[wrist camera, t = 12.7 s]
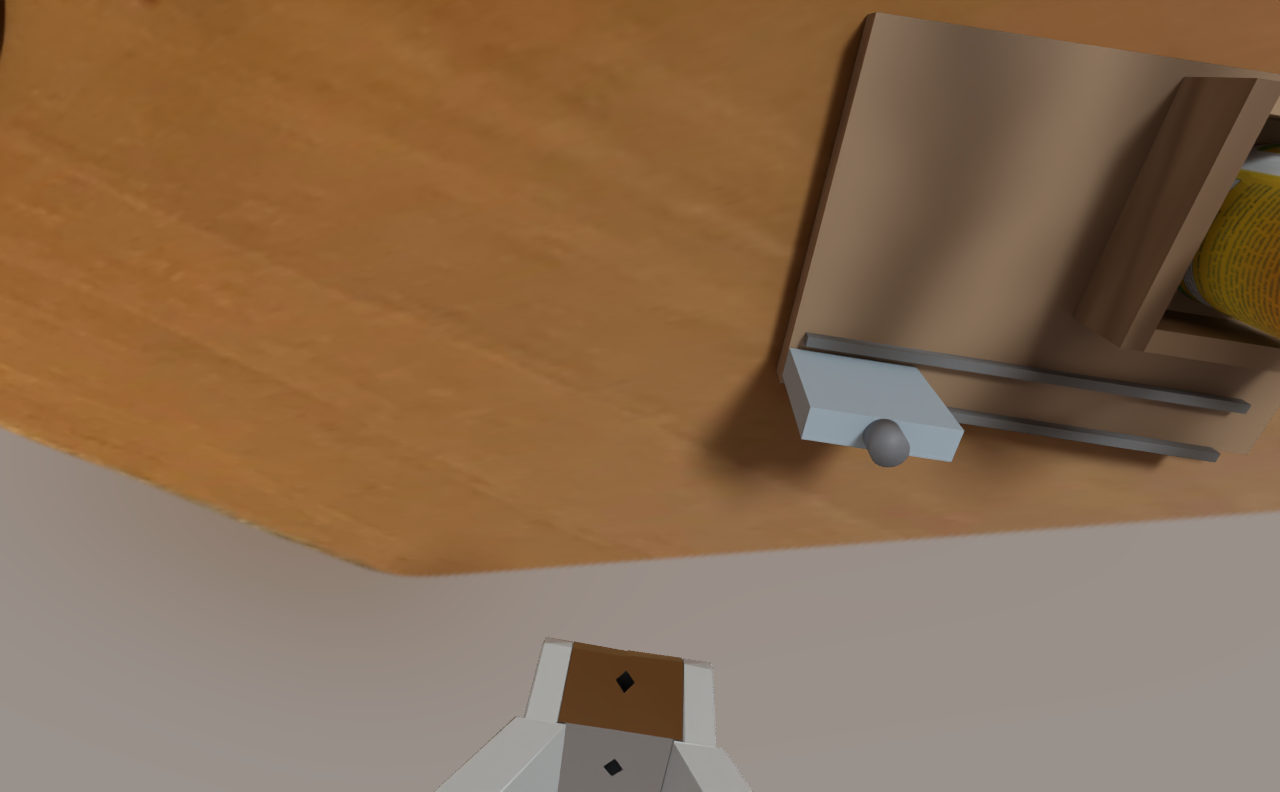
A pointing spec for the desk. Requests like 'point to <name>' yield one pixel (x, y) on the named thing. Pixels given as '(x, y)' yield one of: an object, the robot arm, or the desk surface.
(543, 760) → the robot arm
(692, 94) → the desk surface
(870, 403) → the cover panel
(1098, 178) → the board
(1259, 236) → the supplement bottle
